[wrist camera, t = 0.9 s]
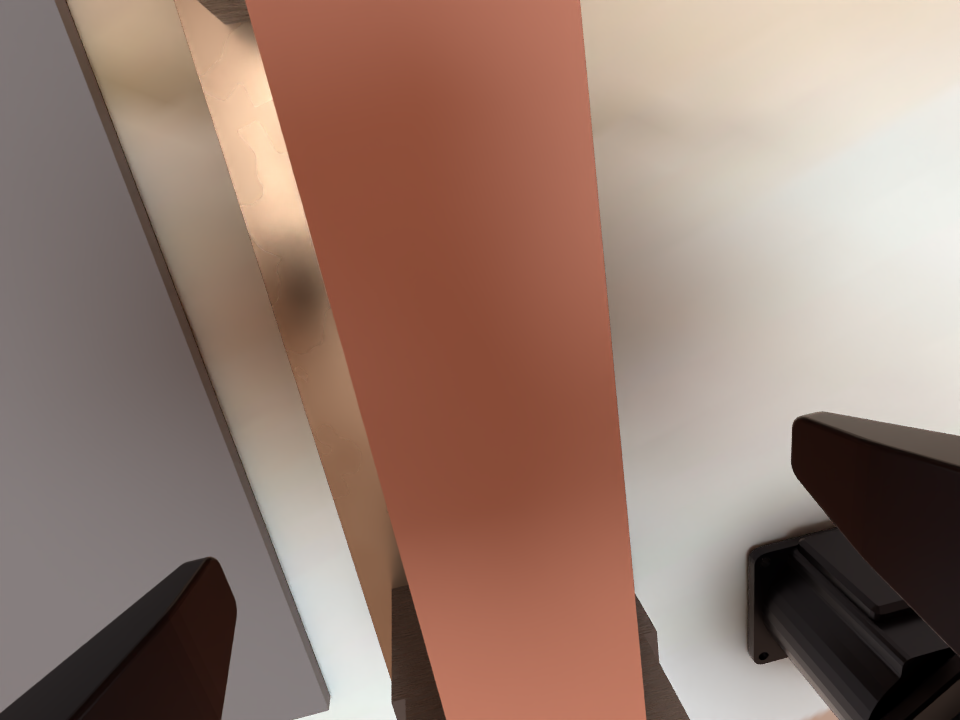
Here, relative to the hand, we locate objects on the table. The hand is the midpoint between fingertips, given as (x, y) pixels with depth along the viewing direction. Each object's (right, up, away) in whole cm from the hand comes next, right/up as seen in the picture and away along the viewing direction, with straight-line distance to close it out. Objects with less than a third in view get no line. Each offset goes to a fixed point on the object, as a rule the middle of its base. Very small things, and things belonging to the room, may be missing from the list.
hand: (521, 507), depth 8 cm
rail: (-1, +2, +4) cm, 5 cm away
